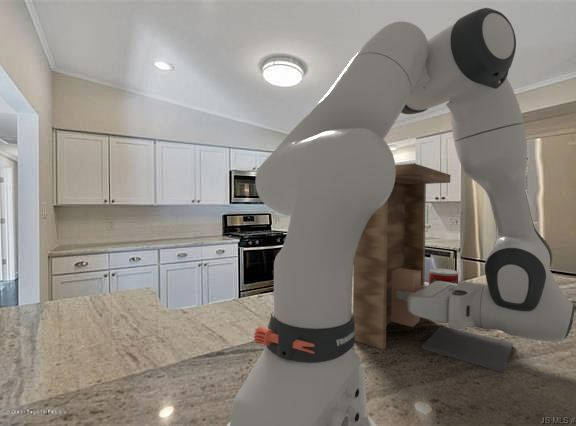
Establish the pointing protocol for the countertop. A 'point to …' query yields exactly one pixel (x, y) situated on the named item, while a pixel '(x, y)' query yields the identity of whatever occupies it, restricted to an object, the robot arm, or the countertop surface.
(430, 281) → the canned food
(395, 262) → the shelf
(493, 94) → the robot arm
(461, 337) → the mat
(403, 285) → the block
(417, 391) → the countertop surface
